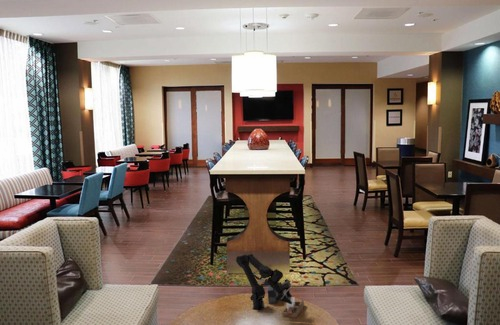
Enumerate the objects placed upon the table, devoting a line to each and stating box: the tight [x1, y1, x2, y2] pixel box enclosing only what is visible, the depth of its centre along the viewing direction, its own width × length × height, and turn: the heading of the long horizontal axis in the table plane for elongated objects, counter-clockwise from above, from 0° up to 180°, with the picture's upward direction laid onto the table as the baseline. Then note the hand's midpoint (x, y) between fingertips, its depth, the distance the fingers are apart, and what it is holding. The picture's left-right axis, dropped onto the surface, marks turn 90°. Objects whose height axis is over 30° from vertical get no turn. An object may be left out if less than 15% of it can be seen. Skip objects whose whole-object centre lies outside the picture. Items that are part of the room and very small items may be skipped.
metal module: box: [285, 296, 296, 313], centre depth 290 cm, size 4×4×9 cm
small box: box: [267, 284, 278, 305], centre depth 315 cm, size 11×6×10 cm, turn 174°
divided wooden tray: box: [281, 299, 305, 318], centre depth 294 cm, size 10×19×5 cm, turn 159°
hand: (292, 302), depth 289 cm, fingers closed on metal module, 4 cm apart
